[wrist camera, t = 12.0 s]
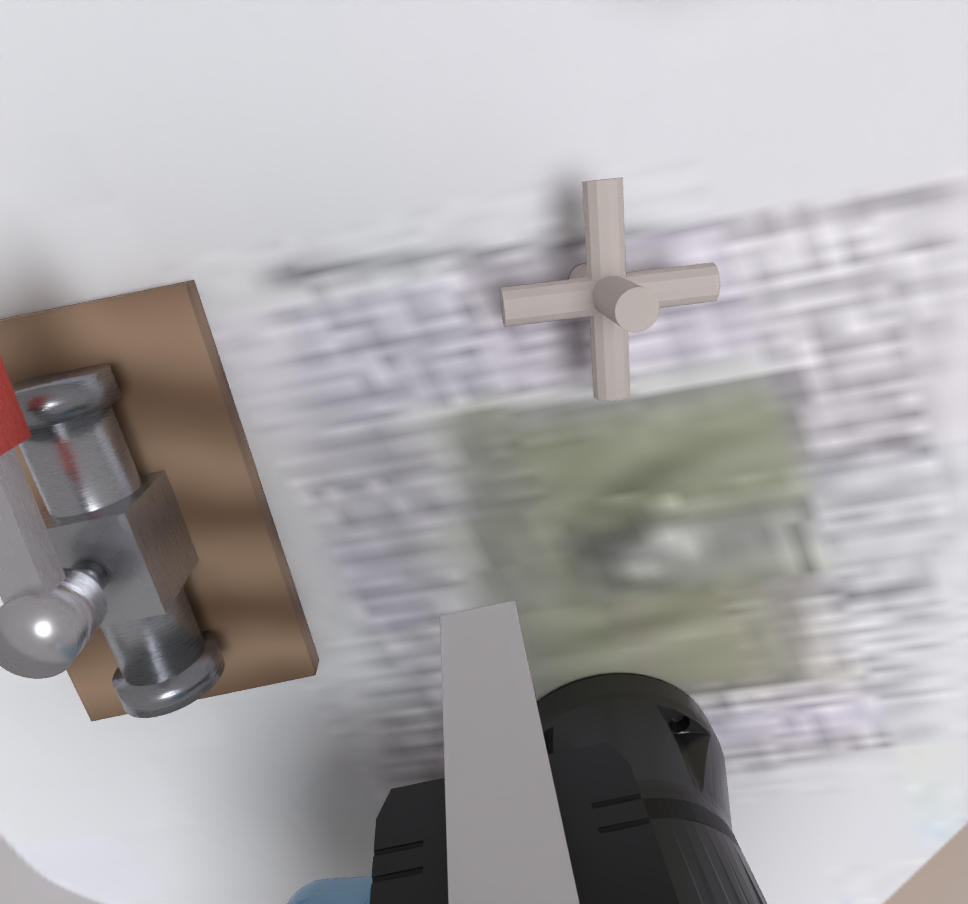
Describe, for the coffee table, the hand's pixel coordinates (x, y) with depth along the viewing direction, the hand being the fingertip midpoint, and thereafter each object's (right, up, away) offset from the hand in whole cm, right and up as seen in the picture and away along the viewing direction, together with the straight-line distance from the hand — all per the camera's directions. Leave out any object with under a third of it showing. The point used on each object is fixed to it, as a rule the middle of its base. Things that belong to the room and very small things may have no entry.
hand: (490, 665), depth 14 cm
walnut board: (-20, +1, +26) cm, 33 cm away
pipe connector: (+5, +13, +24) cm, 28 cm away
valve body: (-20, +1, +26) cm, 33 cm away
